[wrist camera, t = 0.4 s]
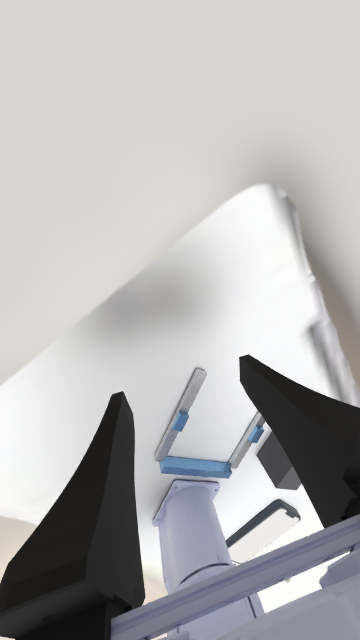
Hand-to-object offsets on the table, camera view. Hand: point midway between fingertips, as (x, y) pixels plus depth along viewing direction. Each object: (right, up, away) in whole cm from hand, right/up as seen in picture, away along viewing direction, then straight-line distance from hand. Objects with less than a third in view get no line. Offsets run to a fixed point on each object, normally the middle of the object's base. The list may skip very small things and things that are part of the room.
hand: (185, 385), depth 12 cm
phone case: (+15, -37, +29) cm, 49 cm away
